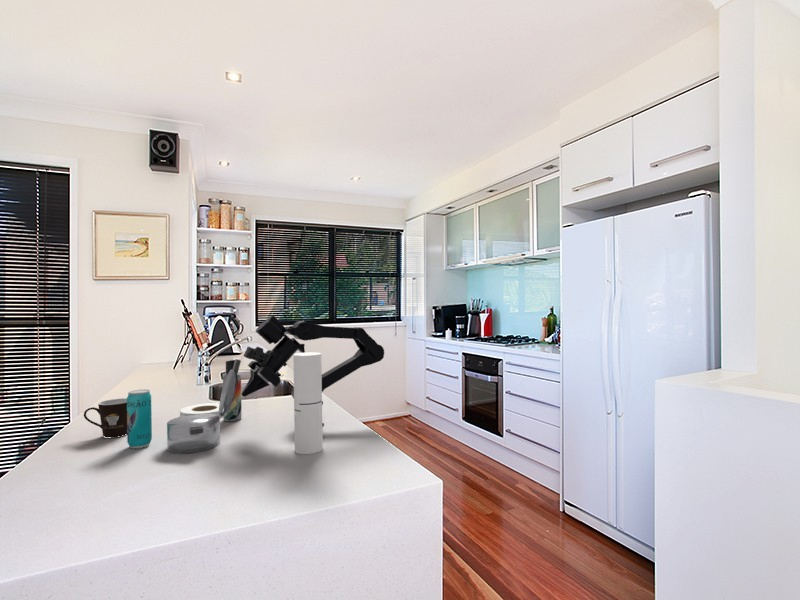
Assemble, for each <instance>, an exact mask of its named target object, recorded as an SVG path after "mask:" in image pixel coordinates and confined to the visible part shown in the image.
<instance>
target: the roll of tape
mask: <svg viewBox="0 0 800 600" xmlns="http://www.w3.org/2000/svg"><path fill="white" fill-rule="evenodd" d="M219 404H220V402H208V403H207V402H206V403H198V404H192V405H188V406H185V407H183V408H181V409H179V410H180V412H179V413H180V415H179V417H182V416H186V415H191V414H215V415H218V416H220V415H219ZM220 418H223V417H222V416H220Z"/></svg>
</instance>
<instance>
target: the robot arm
mask: <svg viewBox="0 0 800 600" xmlns="http://www.w3.org/2000/svg"><path fill="white" fill-rule="evenodd" d="M255 332H256V333H257V334H258V336H260V337H261V339H263V340H265V341H266V342H267V343H268V344H269V345H272V344H274V345H275V346H274V347H273V348H272V349H269V350H266V351H265V352H264V348H262V347H260V346H256V347H255V348H253V347H251V346H247V347H246V349H245V352H244V354H243V357H245V358H246V359H249V360H251V361H250V362H249V363H248V364H247V367H249V373H250V377H249V380H248V381H247V383H246V385H245V387H244V388H243V390H242V391H241V397H242V396H243V397H244V398H245V397H247V396H249V395H251V394H254V393H255V392H257V391H259V390H262V389H264V388H265V387H269V386H270V384H272V386H274V387H275V388H277V387H278V385H279V384H280V383H281V377H280V376H279V375H278V372H280V370H281V369H282V367H287V365H288V363H287V362H289V360H290V359H291V358H292V356H293V354H296V352H298V353H299V352H300V353H306V351H305V346H306V345H305V343H301V342H299V341H297V340H300V341H305V342H306V341H311V340H313V341H315V340H319V339H325V338H327V339H347V340H349V339H350V340H353V342H355V344H356V347H357V348H358V349H357V351H356V352H355V353H354V355H352V356H351V357H350V358H348V359H346V360H344V361H342V362H341V363H339V364H338V365H337V364H336V366H334V367H332V368H330V369H329V370H327V371H326V372H324V373H322V393H323V392H324V391H325V389H327V388H329V387H331V386H333V385H334V384H335V383H337V382H339V381H340V380H342V379H344V378H345V377H347V376H349V375H351V374H352V373H354V372H355V371H357V370H359V369H361V368H362V367H366V366H371V365H374V364H375V363H376V364H377V363H378V362H381V361H382V360H383V359H384V356H385V349H384V347H383V346H382V345H381V344H378V342H377V341H376V340H374V339H373V337H371V336H370V335H369V334H368V332H367V331H366V330H365V329H364V328H363V327H357V326H354V327H349V326H348V327H346V326H328V325H326V326H325V325H321V324H319V323H318V324H317V323H313V322H309V321H304V320H303V321H300V320H299V321H295V322H294V324H292V325H289V326H287V325H286V326H284V325H283V324H282V323H281V322H280V321H279V319H278V318H277V317H276V316H275V315H271V316H269V318H266V320H264V321H263V322H261V323H260V324H259V325H258V327H256V329H255ZM288 335H289V336H290V335H291V336H293V337H292V338H290V337H289V336H288ZM291 397H292V398H293V400H294V386H293V387H292V389H291ZM323 404H324V402H323V400H322V406H324V405H323ZM323 426H325V423H324V422H322V427H323Z"/></svg>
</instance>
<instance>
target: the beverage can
mask: <svg viewBox="0 0 800 600" xmlns="http://www.w3.org/2000/svg"><path fill="white" fill-rule="evenodd" d="M127 394H128V395H127V397H126V398H127V435H126V437H127V438H126V439H127V440H126V442H127V445H128V446H129V448H130V449H131V448H133V449H132V450H136V449H135V448H140V449H144V448H147V447H148V445H149V446H150V445H151V442H152V439H153V438H152V437H153V435H152V434H153V431H152V429H153V424H152V422H153V420H152V419H153V418H152V416H153V415H152V394H151V390H150V389H137V390H131V391H128V392H127ZM146 446H147V447H146ZM143 447H144V448H143Z"/></svg>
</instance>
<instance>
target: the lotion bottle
mask: <svg viewBox="0 0 800 600" xmlns="http://www.w3.org/2000/svg"><path fill="white" fill-rule="evenodd" d="M234 362H235V359H231V360H226V361H225V373H223V375H222V387H223V386H224V383H225V380H226V377H227V375H228V373H229V371H230V370H231V369H232V370H233V366H234ZM237 380H239V381H238V385H237V387H236V390H235V395H234V398H233V402H232V405H231V407H230V410H229V412H228V414H227V415H226V416H223V417H222V418H223V421H224V422H227V421H231V422H236V420H237V421H240V420H241V419H242V418H243V417H242V415H243V414H242V411H243V409H242V395H241V393H242V373H240V372H238V374H237Z"/></svg>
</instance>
